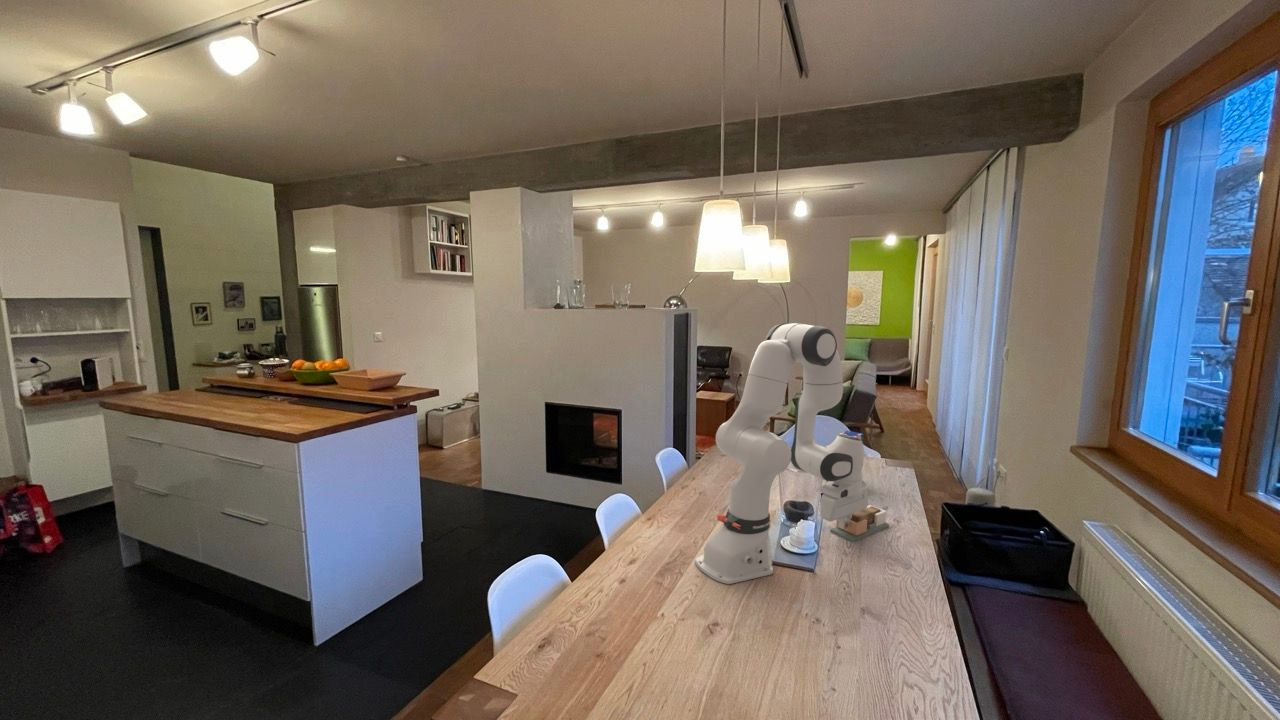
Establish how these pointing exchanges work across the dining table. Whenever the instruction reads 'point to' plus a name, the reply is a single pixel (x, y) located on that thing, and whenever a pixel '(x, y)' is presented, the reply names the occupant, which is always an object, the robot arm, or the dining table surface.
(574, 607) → the dining table surface
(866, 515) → the brown rectangular block
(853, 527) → the cap
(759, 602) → the dining table surface
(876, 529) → the grey slotted holder
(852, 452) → the robot arm
